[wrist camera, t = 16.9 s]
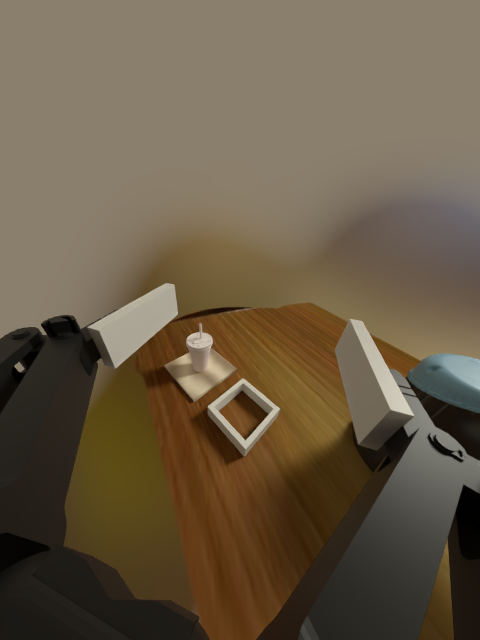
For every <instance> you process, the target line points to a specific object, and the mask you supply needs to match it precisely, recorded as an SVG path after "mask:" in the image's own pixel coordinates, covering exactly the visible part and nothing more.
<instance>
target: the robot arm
mask: <svg viewBox="0 0 480 640" xmlns="http://www.w3.org/2000/svg"><path fill="white" fill-rule="evenodd" d="M177 314H178V311H177V302H176V294H175V286H174V285H173V284H167V283H166V284H164V285H162V286H160V287H158V288H156V289H155V290H153V291H151V292H149V293H147V294H146V295H144V296H142V297H140V298H139V299H137V300H135V301H134V302H131V303H130V304H128V305H126V306H124V307H122V308H120V309H118V310H115V311H113V312H111V313H109V315H106V316H104V317H103V318H100V319H99V320H97V321H95V322H93V323H91V324H89V325H88V326H86V327H84V328H82V329H80V327H79V325H78V323H77V321H76V319H75V317H73V316H70V315H62V316H57V317H53V318H50V319H48V320H46V321H44V322H43V323H42V324H41V326H42V327H43V329H44V330H45V332H46V334H47V335H42V333H41V332H40V330H39V329H38V328H36V327H28V328H21V329H17V330H15V331H13V332H10V333H9V334H7V335H5V336H4V337H2V338H1V339H0V640H210V639H209V637H208V635H207V634H206V632H205V630H204V629H203V627H202V626H201V625H200V623H199V622H198V620H199V616H197V615H196V614H194V613H192V612H190V611H188V610H187V609H185V608H183V607H181V606H180V605H178V604H176V603H174V602H172V601H171V600H139V599H136V598H135V597H134V595H133V594H132V592H131V591H130V589H129V588H128V587H127V585H126V584H125V582H124V580H123V579H122V578H121V576H120V574H119V573H118V572H117V570H116V569H114V568H112V567H111V566H109V565H107V564H105V563H104V562H102V561H100V560H98V559H97V558H95V557H93V556H91V555H88V554H85V553H82V552H79V551H77V550H74V549H71V548H68V547H65V546H63V544H64V539H65V533H66V516H65V511H64V505H65V500H66V496H67V492H68V487H69V483H70V479H71V475H72V471H73V467H74V463H75V459H76V455H77V450H78V446H79V442H80V438H81V434H82V430H83V426H84V422H85V418H86V414H87V410H88V405H89V401H90V397H91V393H92V389H93V385H94V381H95V376H96V373H97V368H98V363H97V361H98V360H99V359H100V358H102V360H103V362H104V365H106V366H109V367H112V368H117V367H118V366H119V365H120V364H121V363H122V362H124V361H125V360H126V359H127V358H128V357H129V356H130V355H131V354H133V353H134V352H135V351H136V350H137V349H138V348H140V347H141V346H142V345H143V344H144V343H145V342H147V341H148V340H149V339H150V338H151V337H152V336H153V335H155V334H156V333H157V332H158V331H159V330H160V329H162V328H163V327H164V326H165V325H166V324H167V323H168V322H170V321H171V320H172V319H173V318H174V317H175V316H177ZM335 352H336V356H337V360H338V365H339V369H340V373H341V377H342V381H343V385H344V389H345V393H346V397H347V401H348V405H349V409H350V413H351V417H352V421H353V437H354V441H355V444H356V446H357V449H358V451H359V453H360V454H361V456H362V458H363V459H364V461H365V462H366V464H367V465H368V466H369V467H370V469H371V470H372V471H373V472H374V473H373V474H372V476H371V477H370V479H369V480H368V482H367V483H366V485H365V486H364V488H363V489H362V491H361V492H360V494H359V495H358V497H357V498H356V500H355V501H354V502H353V504H352V505H351V507H350V508H349V510H348V511H347V513H346V514H345V516H344V517H343V519H342V520H341V522H340V523H339V525H338V526H337V528H336V529H335V531H334V532H333V534H332V535H331V536H330V538H329V539H328V541H327V542H326V544H325V545H324V547H323V548H322V550H321V551H320V553H319V554H318V556H317V557H316V559H315V560H314V562H313V563H312V565H311V566H310V568H309V569H308V570H307V572H306V573H305V575H304V576H303V578H302V579H301V581H300V582H299V584H298V585H297V587H296V588H295V590H294V591H293V593H292V594H291V596H290V597H289V599H288V600H287V602H286V603H285V605H284V606H283V607H282V609H281V610H280V612H279V613H278V615H277V616H276V617H275V618H274V620H273V621H272V622H271V623H270V624H269V625H268V626H267V627H266V628H265V629H264V630H263V632H262V633H261V634H260V635H259V637H258V638H257V639H256V640H418V637H419V634H420V631H421V627H422V624H423V620H424V617H425V613H426V610H427V607H428V603H429V600H430V596H431V593H432V590H433V586H434V583H435V579H436V576H437V572H438V569H439V566H440V562H441V559H442V555H443V552H444V549H445V545H446V542H447V538H448V550H449V565H450V581H451V597H452V612H453V628H454V640H480V360H479V359H475V358H471V357H467V356H460V355H455V354H435V355H431V356H429V357H426V358H425V359H423V360H422V361H421V362H420V363H419V364H418V365H417V366H416V367H415V368H414V369H412V370H410V371H409V372H408V375H407V377H406V378H404V377H403V376H402V375H401V374H400V373H399V372H398V371H397V370H393V369H389V368H388V367H387V365H386V363H385V362H384V360H383V358H382V356H381V354H380V353H379V351H378V349H377V347H376V345H375V343H374V342H373V340H372V338H371V336H370V334H369V333H368V331H367V329H366V327H365V325H364V324H363V322H362V321H358V320H353V319H350V320H349V322H348V324H347V326H346V328H345V330H344V332H343V334H342V336H341V338H340V340H339V342H338V344H337V346H336V349H335ZM18 362H20V363H21V365H22V366H23V367H24V368H25V369H24V370H23V371H22V372H18V371H17V369H16V368H15V367H14V365H15V364H17V363H18Z"/></svg>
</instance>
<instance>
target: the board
mask: <svg viewBox="0 0 480 640" xmlns="http://www.w3.org/2000/svg"><path fill="white" fill-rule="evenodd" d="M164 367H165V369H166V370H167V371H168V372H169V373H170V375H171V376H172V377H173V378H174V379H175V380H176V382H177V383H178V384H179V385H180V386H181V387H182V389H183V390H184V391H185V392H186V393H187V395H188V396H189V397H190V398H191V399H192V400H193V402H195V401H196V400H198V399H199V398H200V397H202V396H203V395H204V394H206V393H207V392H208V391H210V390H211V389H212V388H214V387H215V386H217V385H218V384H219V383H221V382H222V381H223V380H225V379H226V378H227V377H229V376H230V375H232V374H233V373H234V372H236V371H237V369H236V368H235V367H234V366H233V365H231V364H230V363H229V362H228V361H227V360H225V359H224V358H223V357H222V356H220V355H219V354H218V353H217V352H216V351H214V350H213V349H212V348H210V354H209V361H208V367H207V370H206V371H204V372H196V371H195V370H194V367H193V364H192V360H191V356H190V352H189V353H187V354H185V355H183V356H182V357H180V358H178V359H176V360H174V361H172V362H170V363H168V364H166V365H164Z"/></svg>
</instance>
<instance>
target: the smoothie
mask: <svg viewBox="0 0 480 640" xmlns="http://www.w3.org/2000/svg"><path fill="white" fill-rule="evenodd" d="M199 327H200V332H198V333H194V334H191V335H190V336H189V337H188V338H187V340H186V346H187V347H188V348H189V352H190V356H191V360H192V364H193V367H194V370H195V371H196V372H204V371H206V370H207V367H208V361H209V354H210V348H211V346H212V337H211V336H210V335H209V334H207V333H202V324H199Z"/></svg>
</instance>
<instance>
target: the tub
mask: <svg viewBox="0 0 480 640" xmlns="http://www.w3.org/2000/svg"><path fill="white" fill-rule="evenodd" d="M241 391H243V392H244V393H245V394H246V395H248V396H249V397H250V398H251V399H252V400H253V401H254V402H255V403H257V404H258V405H259V406H260V407H261V408H262V409H263V410H264V411H266V412H267V413H268V414H269V415H268V416H267V417H266V418H265V419H264V420H263V421H262V423H261V424H260V425H259V426H258V427H257V428H256V429H255V431H254V432H253V433H252V434H251V435H250V436H249V437H248V439H247V440H246V441H245V440H244V439H243V438H242V436H241V435H240V434H239V433H238V432H237V431H236V430H235V429H234V428H233V427H232V426H231V425H230V423H229V422H228V421H227V420H226V419H225V418H224V417H223V416H222V415H221V414H220V413H219V410H220V409H221V408H223V407H224V406H225V405H226V404H227V403H228V402H230V401H231V400H232V399H233V398H234V397H235V396H237V395H238V394H239V393H240V392H241ZM279 411H280V409H279V408H278V407H277V406H276V405H275V404H273V403H272V402H271V401H270V400H269V399H267V398H266V397H265V396H264V395H263V394H261V393H260V392H259V391H258V390H257V389H255V388H254V387H253V386H252V385H251V384H249V383H248V382H247V381H246V380H245V379H242V380H240V381H239V382H238V383H237V384H235V385H234V386H233V387H231V388H230V389H229V390H228V391H226V392H225V393H224V394H223V395H221V396H220V397H219V398H218V399H216V400H215V401H214V402H213V403H211V404H210V405H209V406H208V416H209V417H210V418H211V419H212V420H213V421H214V422H215V424H216V425H217V426H218V427H219V428H220V429H221V431H222V432H223V433H224V434H225V435H226V436H227V438H228V439H229V440H230V441H231V442H232V443H233V444H234V446H235V447H236V448H237V449H238V450H239V451H240V453H241V454H242V455H243V456H244V457H245V455H246V454H247V453H248V452H249V450H250V449H251V448H252V447H253V446H254V444H255V443H256V442H257V441H258V440H259V438H260V437H261V436H262V435H263V434H264V432H265V431H266V430H267V429H268V427H269V426H270V425H271V424H272V423H273V421H274V420H275V419H276V418H277V416H278V414H279Z"/></svg>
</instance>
